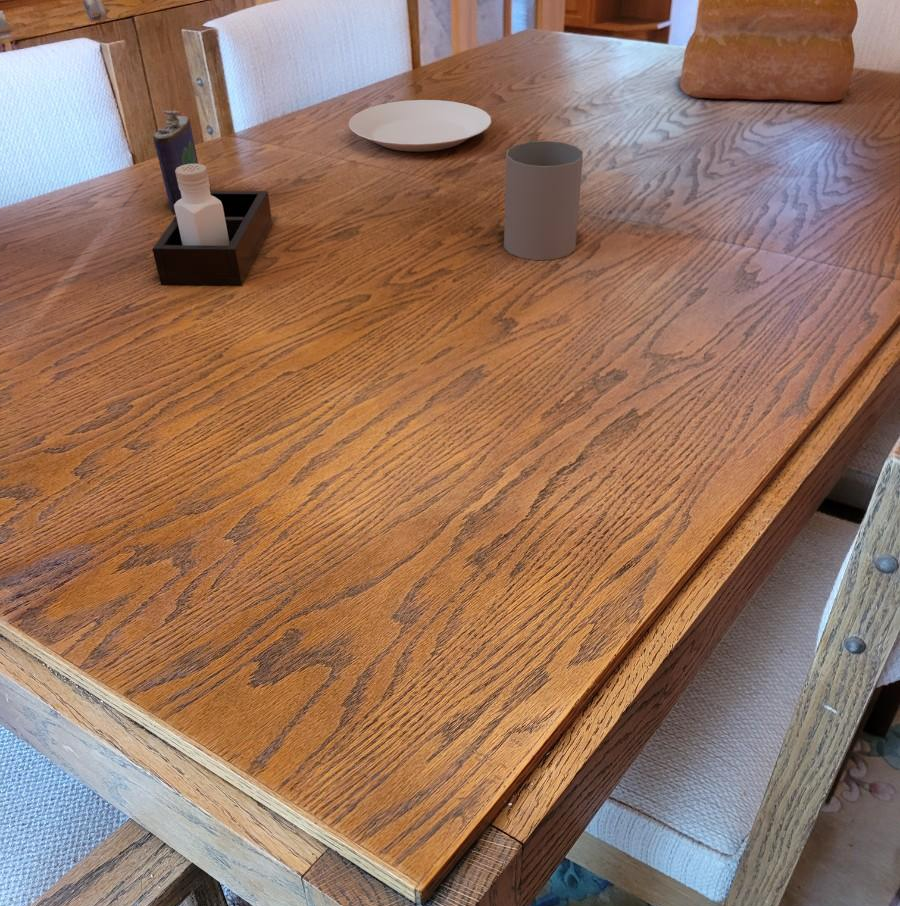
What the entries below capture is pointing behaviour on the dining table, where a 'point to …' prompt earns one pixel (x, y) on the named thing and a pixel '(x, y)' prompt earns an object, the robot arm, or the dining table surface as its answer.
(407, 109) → the plate
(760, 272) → the dining table surface
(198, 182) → the salt shaker
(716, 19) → the bread
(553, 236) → the cup
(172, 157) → the flask
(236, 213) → the box
